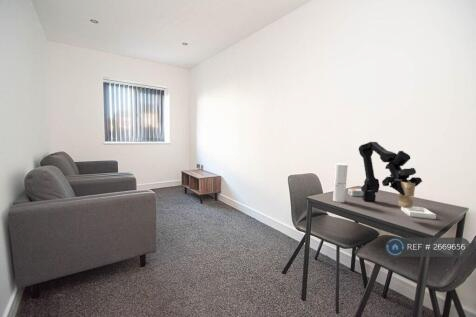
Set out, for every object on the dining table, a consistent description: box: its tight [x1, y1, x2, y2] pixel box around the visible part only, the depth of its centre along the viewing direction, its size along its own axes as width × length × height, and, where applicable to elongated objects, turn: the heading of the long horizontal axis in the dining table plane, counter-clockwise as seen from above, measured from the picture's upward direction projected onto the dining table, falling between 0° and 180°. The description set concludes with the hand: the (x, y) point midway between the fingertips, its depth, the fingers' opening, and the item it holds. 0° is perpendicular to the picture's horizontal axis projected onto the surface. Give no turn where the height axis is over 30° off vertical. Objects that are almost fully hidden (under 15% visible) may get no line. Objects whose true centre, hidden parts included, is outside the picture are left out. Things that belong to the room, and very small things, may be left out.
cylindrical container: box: [332, 162, 349, 203], centre depth 151 cm, size 7×7×25 cm
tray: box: [400, 206, 437, 220], centre depth 130 cm, size 12×12×3 cm
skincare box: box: [347, 188, 364, 197], centre depth 167 cm, size 6×4×12 cm
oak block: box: [397, 182, 416, 208], centre depth 120 cm, size 4×4×13 cm
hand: (408, 195), depth 119 cm, fingers closed on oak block, 4 cm apart
